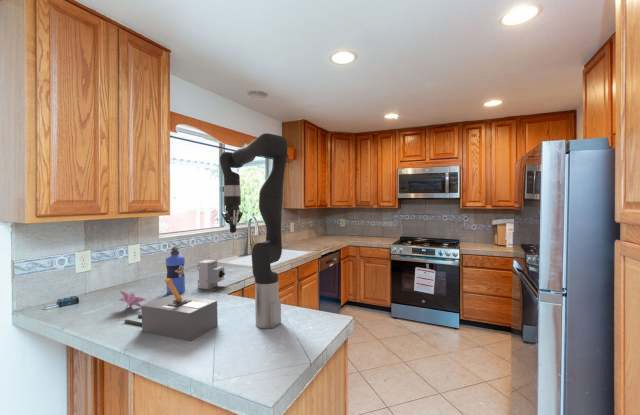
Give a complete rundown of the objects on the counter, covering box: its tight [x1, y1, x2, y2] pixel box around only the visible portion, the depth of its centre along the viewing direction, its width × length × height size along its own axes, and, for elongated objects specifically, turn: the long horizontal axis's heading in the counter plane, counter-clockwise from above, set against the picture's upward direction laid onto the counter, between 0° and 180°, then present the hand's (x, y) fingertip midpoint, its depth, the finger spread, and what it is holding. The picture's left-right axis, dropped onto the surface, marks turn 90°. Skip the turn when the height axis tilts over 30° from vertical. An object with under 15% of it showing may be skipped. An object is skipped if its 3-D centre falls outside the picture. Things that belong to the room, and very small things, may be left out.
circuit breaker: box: [196, 259, 226, 290], centre depth 173 cm, size 8×14×15 cm, turn 78°
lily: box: [117, 290, 147, 314], centre depth 137 cm, size 12×12×10 cm
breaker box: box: [124, 295, 219, 342], centre depth 119 cm, size 39×14×11 cm, turn 69°
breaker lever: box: [164, 277, 183, 302], centre depth 114 cm, size 2×1×12 cm
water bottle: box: [165, 246, 186, 296], centre depth 163 cm, size 9×9×25 cm
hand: (233, 232), depth 139 cm, fingers closed
